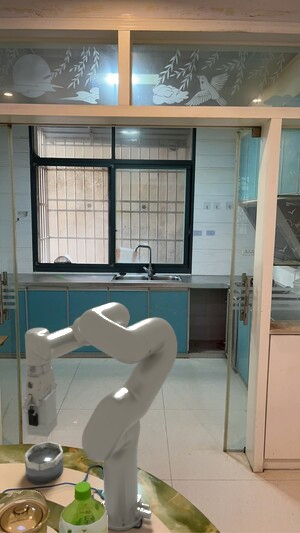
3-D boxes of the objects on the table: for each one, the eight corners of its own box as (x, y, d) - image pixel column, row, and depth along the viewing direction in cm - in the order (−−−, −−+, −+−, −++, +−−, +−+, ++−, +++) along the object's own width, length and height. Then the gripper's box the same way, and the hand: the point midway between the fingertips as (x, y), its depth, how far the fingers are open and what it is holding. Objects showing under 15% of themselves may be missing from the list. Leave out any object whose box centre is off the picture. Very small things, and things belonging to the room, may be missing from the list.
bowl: (70, 463, 125) (69, 445, 124) (49, 488, 114) (48, 468, 113) (40, 456, 129) (39, 438, 128) (18, 479, 118) (16, 460, 117)
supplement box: (58, 424, 122) (56, 388, 120) (47, 437, 115) (45, 400, 113) (38, 422, 123) (35, 387, 122) (26, 435, 116) (23, 397, 114)
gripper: (31, 380, 107) (34, 435, 109) (64, 358, 123) (66, 406, 125) (10, 376, 109) (14, 431, 112) (45, 355, 125) (47, 403, 128)
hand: (41, 417), depth 119 cm, fingers closed on supplement box, 7 cm apart
